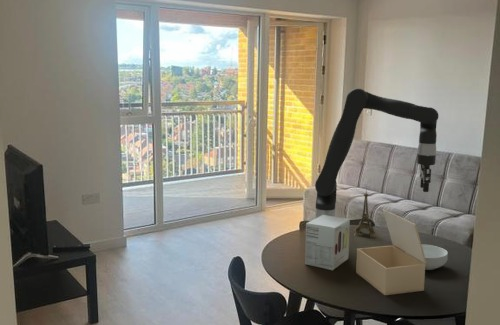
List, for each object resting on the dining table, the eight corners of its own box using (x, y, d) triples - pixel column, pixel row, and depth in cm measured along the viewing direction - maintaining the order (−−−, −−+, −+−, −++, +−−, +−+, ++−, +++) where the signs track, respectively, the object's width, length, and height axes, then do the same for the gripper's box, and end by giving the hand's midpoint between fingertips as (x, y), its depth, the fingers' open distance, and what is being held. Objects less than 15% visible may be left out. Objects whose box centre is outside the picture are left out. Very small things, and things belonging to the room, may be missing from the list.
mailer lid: (414, 224, 170) (415, 224, 170) (382, 209, 191) (383, 209, 191) (425, 263, 173) (426, 263, 174) (392, 244, 195) (393, 244, 195)
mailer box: (384, 295, 171) (385, 268, 170) (356, 272, 192) (357, 248, 191) (423, 290, 175) (425, 264, 174) (391, 268, 196) (392, 245, 195)
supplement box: (333, 271, 194) (335, 228, 191) (304, 264, 201) (305, 223, 198) (349, 258, 208) (350, 218, 205) (321, 252, 215) (322, 214, 212)
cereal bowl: (413, 256, 210) (414, 241, 209) (452, 265, 200) (453, 249, 199) (397, 267, 197) (398, 251, 196) (438, 277, 187) (440, 260, 186)
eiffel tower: (375, 237, 237) (377, 188, 234) (353, 236, 240) (355, 187, 236) (375, 231, 248) (377, 184, 244) (354, 230, 250) (355, 183, 246)
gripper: (415, 151, 216) (413, 186, 219) (419, 155, 203) (417, 192, 205) (433, 151, 215) (430, 186, 217) (438, 156, 201) (435, 193, 204)
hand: (424, 189), depth 211 cm, fingers open, 8 cm apart
